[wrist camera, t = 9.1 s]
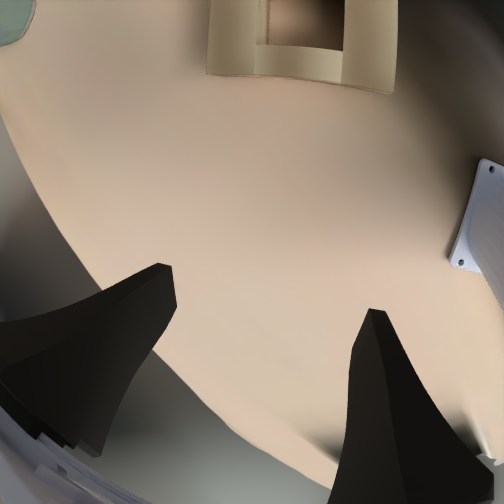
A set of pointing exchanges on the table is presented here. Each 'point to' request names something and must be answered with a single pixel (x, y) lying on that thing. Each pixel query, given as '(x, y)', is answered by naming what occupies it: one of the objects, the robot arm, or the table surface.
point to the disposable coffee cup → (15, 19)
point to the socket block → (305, 58)
